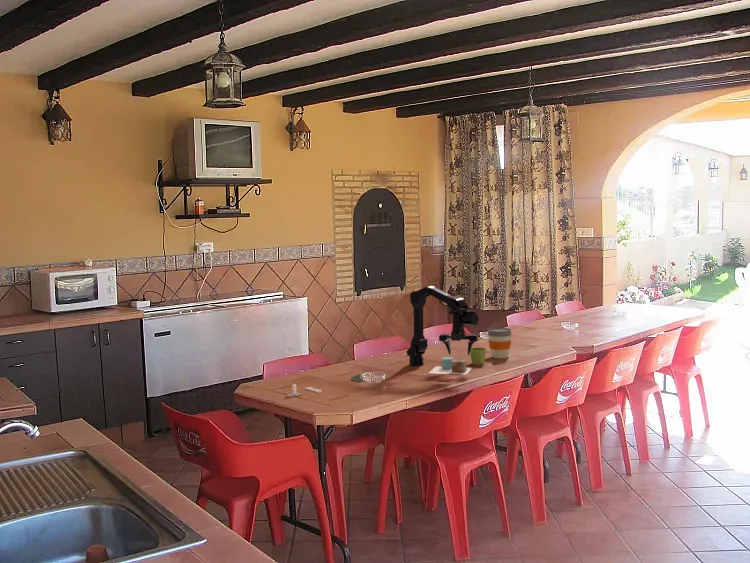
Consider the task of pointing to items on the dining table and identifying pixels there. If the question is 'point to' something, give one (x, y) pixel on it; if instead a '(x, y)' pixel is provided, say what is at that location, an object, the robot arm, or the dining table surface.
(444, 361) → the teal cube
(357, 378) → the game pieces
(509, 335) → the reusable coffee cup
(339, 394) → the dining table surface
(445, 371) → the board
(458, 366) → the walnut block
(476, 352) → the plant pot
